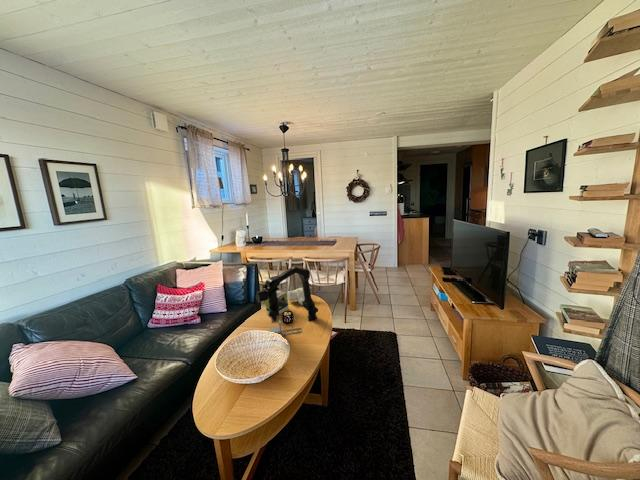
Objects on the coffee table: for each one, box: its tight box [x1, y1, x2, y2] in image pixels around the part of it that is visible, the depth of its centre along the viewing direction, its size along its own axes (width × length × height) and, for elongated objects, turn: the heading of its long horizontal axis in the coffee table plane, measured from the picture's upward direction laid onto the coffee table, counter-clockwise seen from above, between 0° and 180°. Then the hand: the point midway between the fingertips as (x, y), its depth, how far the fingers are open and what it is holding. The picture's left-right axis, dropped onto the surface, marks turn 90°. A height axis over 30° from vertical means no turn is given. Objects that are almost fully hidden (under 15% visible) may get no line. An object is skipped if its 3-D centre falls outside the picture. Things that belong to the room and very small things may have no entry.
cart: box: [268, 319, 282, 334], centre depth 171 cm, size 6×8×7 cm
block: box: [270, 315, 280, 324], centre depth 169 cm, size 4×4×5 cm
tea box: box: [264, 290, 290, 316], centre depth 201 cm, size 15×10×15 cm
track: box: [281, 327, 303, 336], centre depth 173 cm, size 8×21×1 cm, turn 100°
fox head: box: [287, 286, 312, 306], centre depth 215 cm, size 13×17×20 cm
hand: (275, 319), depth 169 cm, fingers closed on block, 4 cm apart
